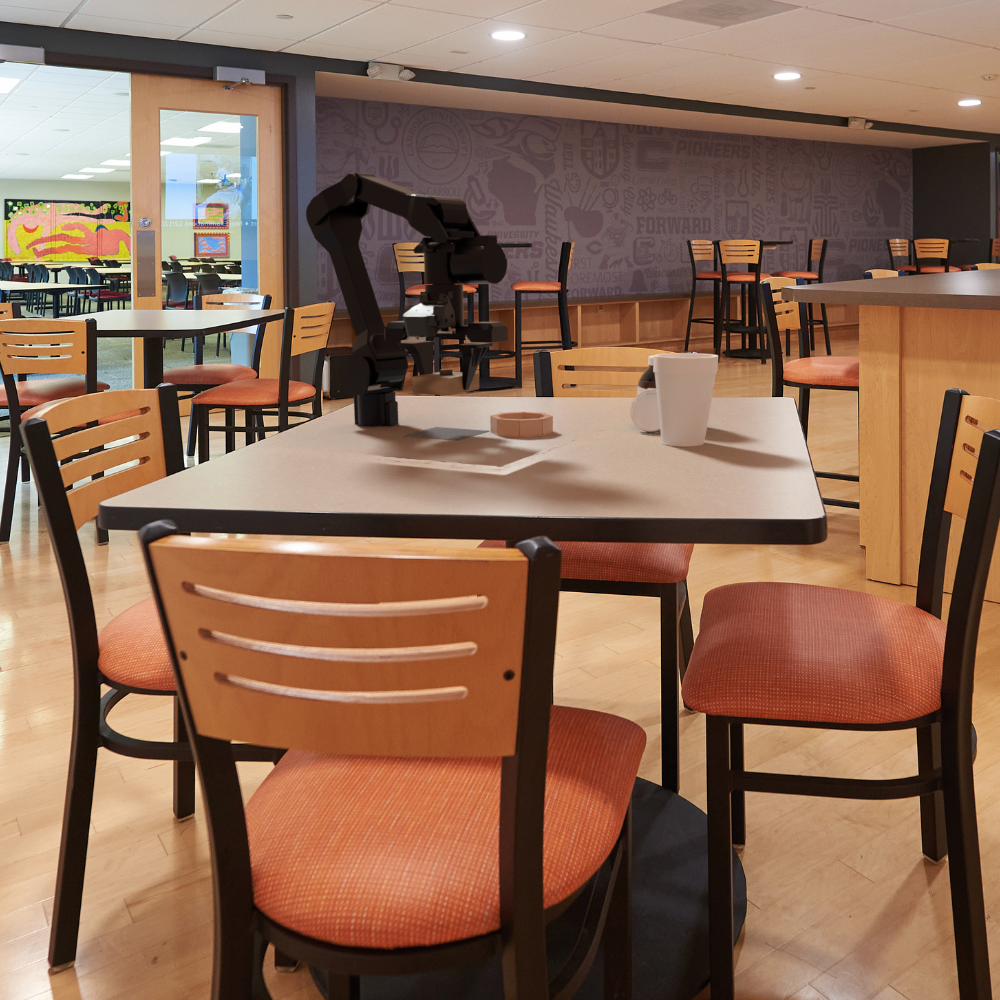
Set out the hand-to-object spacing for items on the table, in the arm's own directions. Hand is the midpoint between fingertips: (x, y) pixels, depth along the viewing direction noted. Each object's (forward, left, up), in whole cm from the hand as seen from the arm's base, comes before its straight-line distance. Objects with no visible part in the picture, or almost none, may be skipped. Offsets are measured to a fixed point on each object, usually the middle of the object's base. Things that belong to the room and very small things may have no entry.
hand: (446, 388), depth 151 cm
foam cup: (+34, +12, -8) cm, 37 cm away
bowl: (+10, +6, -8) cm, 14 cm away
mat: (0, 0, -8) cm, 8 cm away
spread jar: (+27, +25, -8) cm, 37 cm away
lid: (0, 0, 0) cm, 0 cm away
